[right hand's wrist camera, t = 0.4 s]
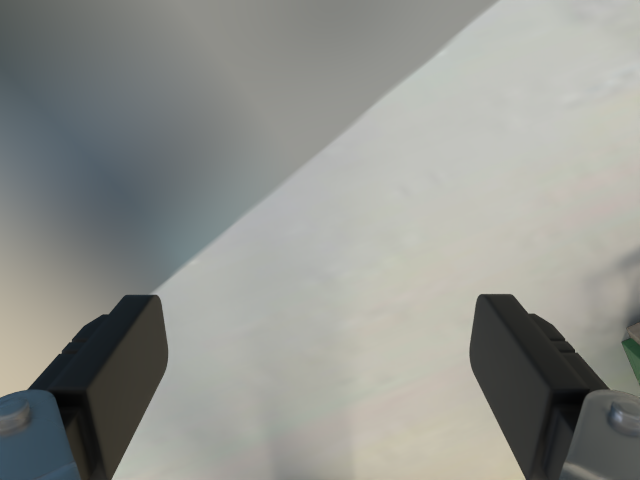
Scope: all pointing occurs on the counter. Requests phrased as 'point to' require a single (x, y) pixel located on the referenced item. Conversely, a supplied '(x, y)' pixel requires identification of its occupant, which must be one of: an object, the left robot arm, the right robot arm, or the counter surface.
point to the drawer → (635, 332)
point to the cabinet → (633, 355)
